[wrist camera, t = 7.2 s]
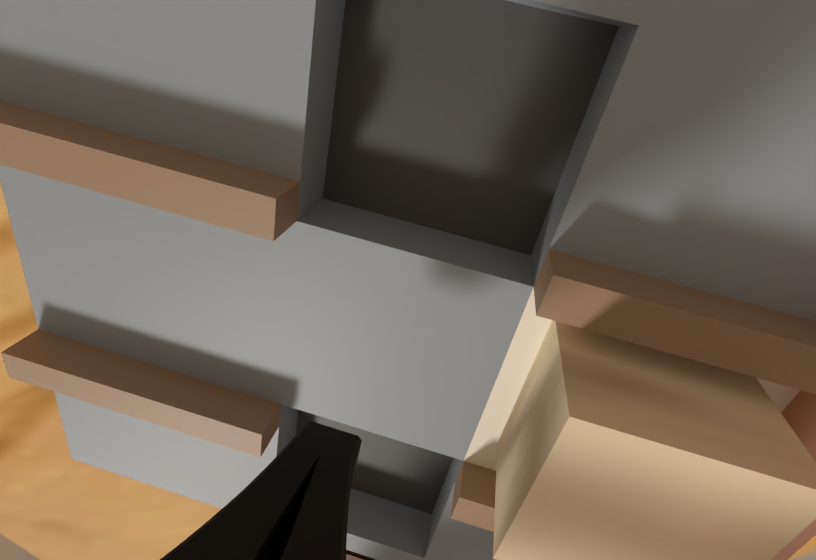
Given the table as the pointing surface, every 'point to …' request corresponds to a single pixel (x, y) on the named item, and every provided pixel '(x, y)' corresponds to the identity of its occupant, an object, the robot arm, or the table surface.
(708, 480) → the maple block
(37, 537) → the table surface
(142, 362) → the board
